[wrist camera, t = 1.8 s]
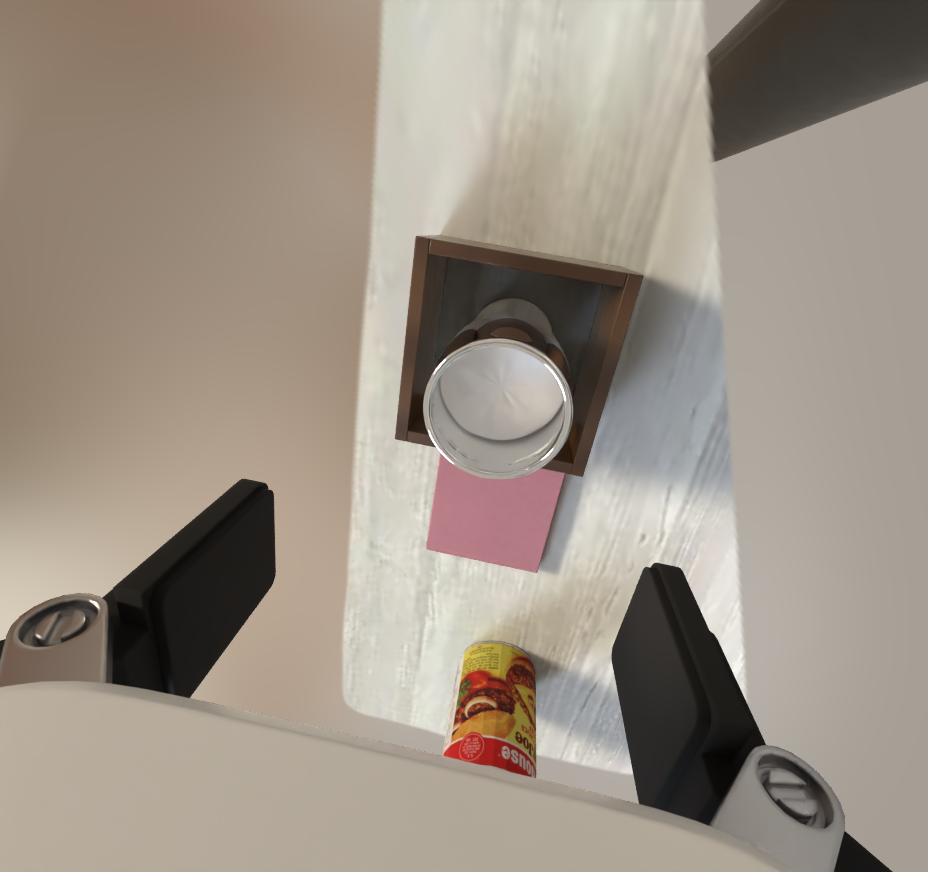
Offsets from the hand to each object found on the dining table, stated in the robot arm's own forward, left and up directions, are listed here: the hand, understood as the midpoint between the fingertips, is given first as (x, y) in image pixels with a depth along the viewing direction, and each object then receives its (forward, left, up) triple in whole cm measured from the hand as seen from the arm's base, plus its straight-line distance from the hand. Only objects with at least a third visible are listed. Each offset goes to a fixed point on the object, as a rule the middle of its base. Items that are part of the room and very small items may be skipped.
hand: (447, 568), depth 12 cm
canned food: (+14, +30, -25) cm, 42 cm away
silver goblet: (-1, 0, -25) cm, 25 cm away
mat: (+6, +12, -25) cm, 28 cm away
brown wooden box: (-1, 0, -25) cm, 25 cm away
